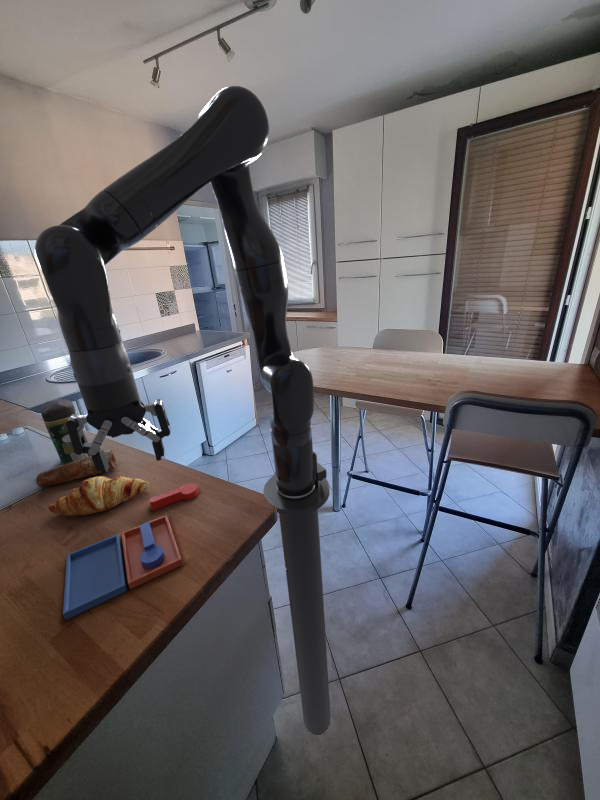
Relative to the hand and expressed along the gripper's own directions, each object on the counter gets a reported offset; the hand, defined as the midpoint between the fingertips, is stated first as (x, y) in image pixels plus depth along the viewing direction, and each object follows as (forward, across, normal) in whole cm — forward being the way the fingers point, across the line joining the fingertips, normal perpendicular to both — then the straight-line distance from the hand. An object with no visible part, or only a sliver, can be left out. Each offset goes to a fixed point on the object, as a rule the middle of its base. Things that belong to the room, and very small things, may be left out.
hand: (132, 464), depth 57 cm
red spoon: (+20, -3, -15) cm, 25 cm away
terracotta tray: (+20, +2, -1) cm, 20 cm away
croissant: (+20, +13, -21) cm, 32 cm away
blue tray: (+20, +11, +1) cm, 23 cm away
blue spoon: (+20, +2, -1) cm, 20 cm away
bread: (+20, +21, -36) cm, 46 cm away
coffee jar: (+20, +25, -47) cm, 57 cm away
